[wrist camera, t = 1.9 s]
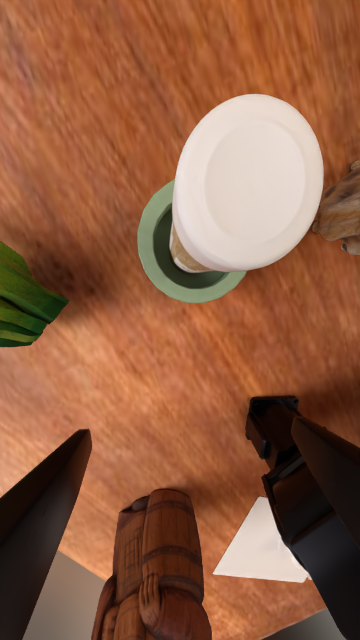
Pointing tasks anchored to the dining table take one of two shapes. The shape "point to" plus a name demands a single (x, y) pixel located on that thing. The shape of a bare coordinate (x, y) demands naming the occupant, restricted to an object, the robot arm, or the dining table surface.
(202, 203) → the sprinkles bottle
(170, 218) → the jar
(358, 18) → the dining table surface
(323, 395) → the dining table surface
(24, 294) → the decorative plant
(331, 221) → the lion figurine
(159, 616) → the wooden figurine
